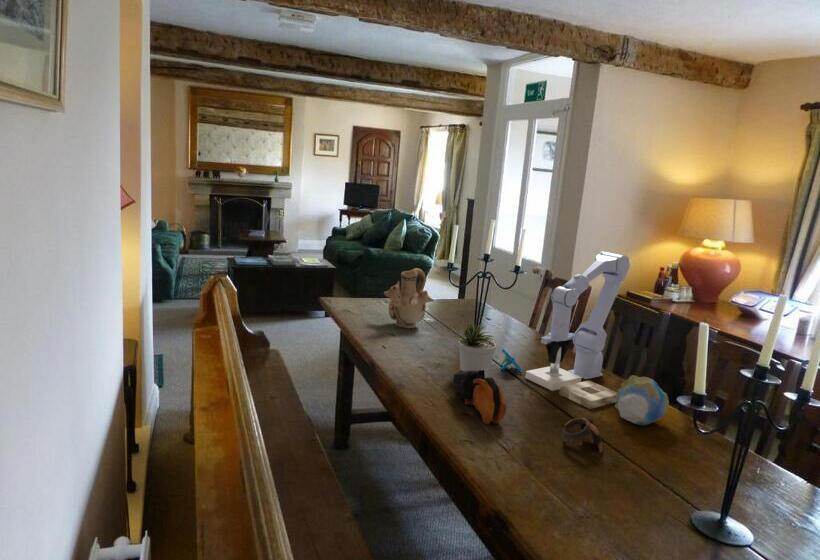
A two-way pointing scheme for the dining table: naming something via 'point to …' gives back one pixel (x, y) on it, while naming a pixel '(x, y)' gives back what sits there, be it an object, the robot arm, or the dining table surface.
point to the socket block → (552, 378)
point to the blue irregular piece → (509, 361)
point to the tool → (481, 394)
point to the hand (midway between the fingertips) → (555, 362)
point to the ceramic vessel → (408, 299)
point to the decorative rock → (641, 400)
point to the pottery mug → (582, 432)
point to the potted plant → (475, 350)
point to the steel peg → (555, 367)
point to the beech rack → (588, 394)
